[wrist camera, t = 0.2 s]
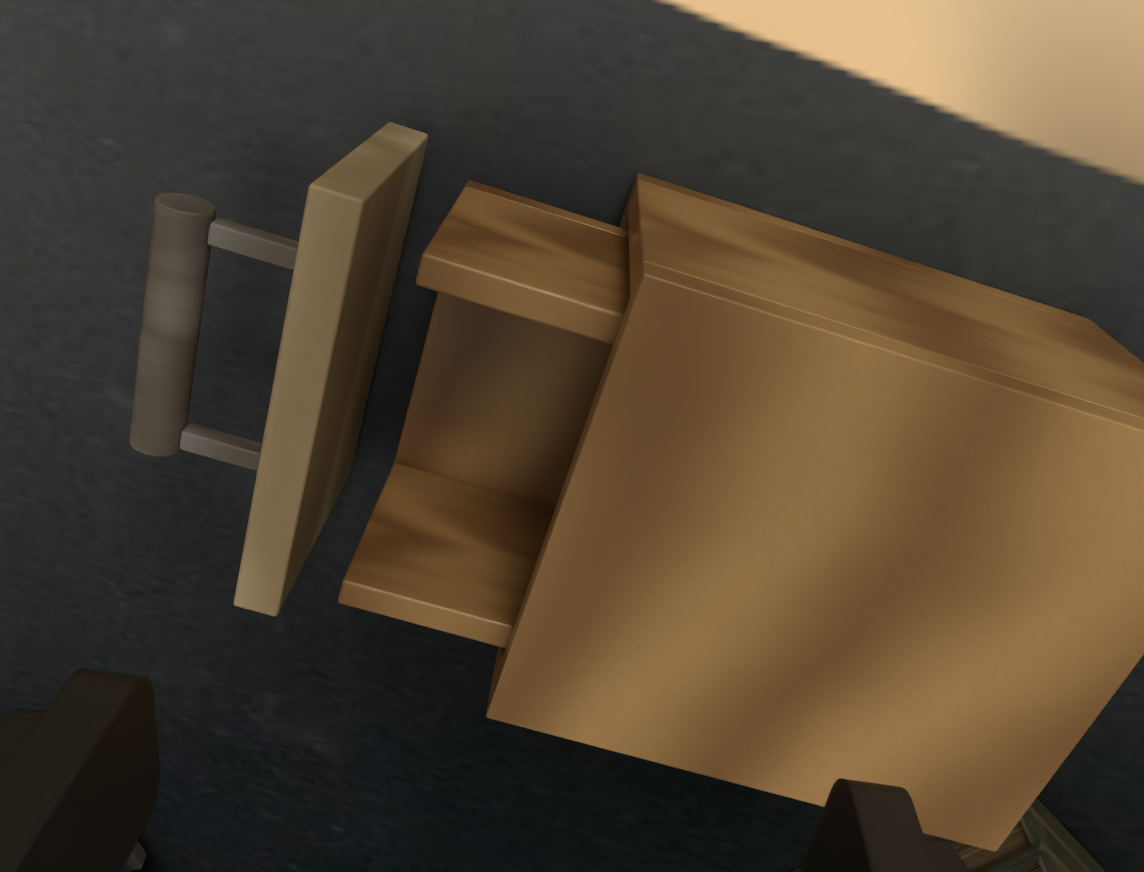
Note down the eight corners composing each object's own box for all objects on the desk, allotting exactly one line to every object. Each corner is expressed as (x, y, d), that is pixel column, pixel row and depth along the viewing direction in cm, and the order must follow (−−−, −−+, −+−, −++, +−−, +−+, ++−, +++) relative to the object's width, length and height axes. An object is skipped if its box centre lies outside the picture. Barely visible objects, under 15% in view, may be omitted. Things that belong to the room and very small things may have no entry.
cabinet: (519, 520, 34) (485, 718, 26) (637, 171, 29) (644, 272, 20) (904, 630, 36) (996, 853, 27) (1089, 318, 30) (1281, 473, 21)
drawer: (191, 427, 32) (71, 564, 25) (241, 73, 27) (107, 120, 20) (697, 571, 34) (717, 737, 27) (835, 264, 29) (905, 370, 22)
